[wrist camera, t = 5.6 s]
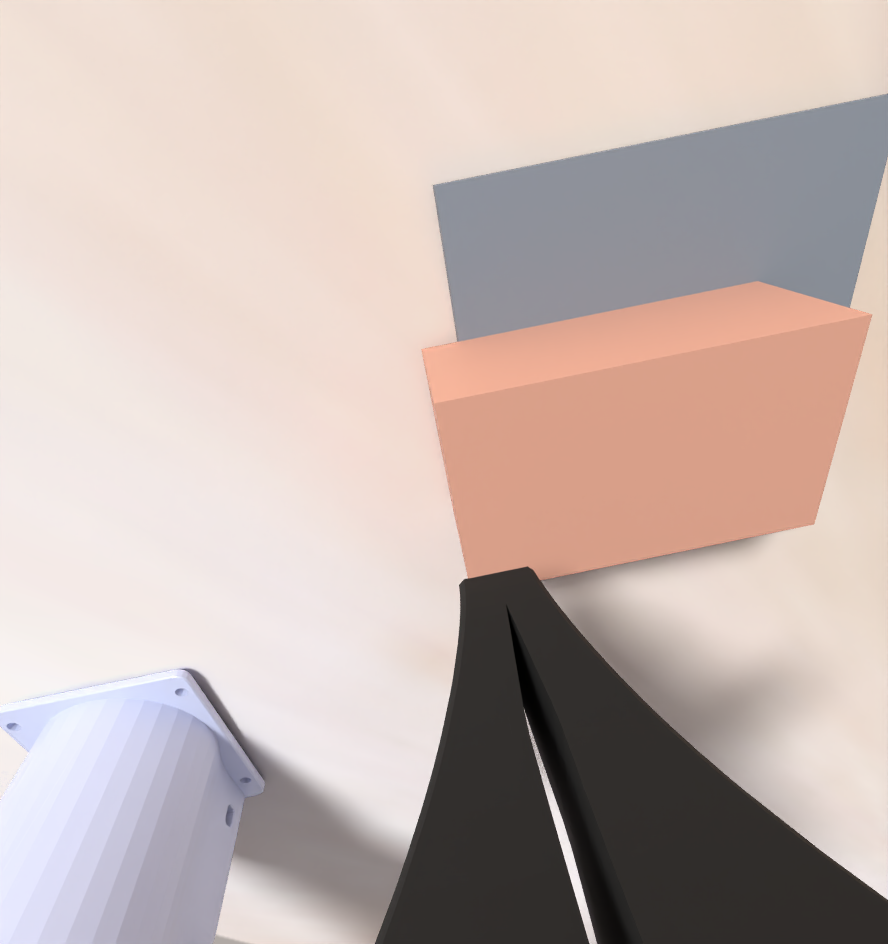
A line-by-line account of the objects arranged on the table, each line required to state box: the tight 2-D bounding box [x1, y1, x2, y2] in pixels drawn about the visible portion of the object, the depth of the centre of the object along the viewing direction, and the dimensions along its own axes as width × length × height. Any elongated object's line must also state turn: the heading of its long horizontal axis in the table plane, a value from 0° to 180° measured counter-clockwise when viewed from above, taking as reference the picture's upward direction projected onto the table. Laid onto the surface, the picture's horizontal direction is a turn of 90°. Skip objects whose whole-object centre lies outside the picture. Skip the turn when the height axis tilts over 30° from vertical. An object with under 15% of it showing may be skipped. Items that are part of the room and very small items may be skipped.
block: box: [422, 281, 872, 580], centre depth 14 cm, size 6×4×10 cm
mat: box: [433, 94, 888, 342], centre depth 16 cm, size 14×12×1 cm
